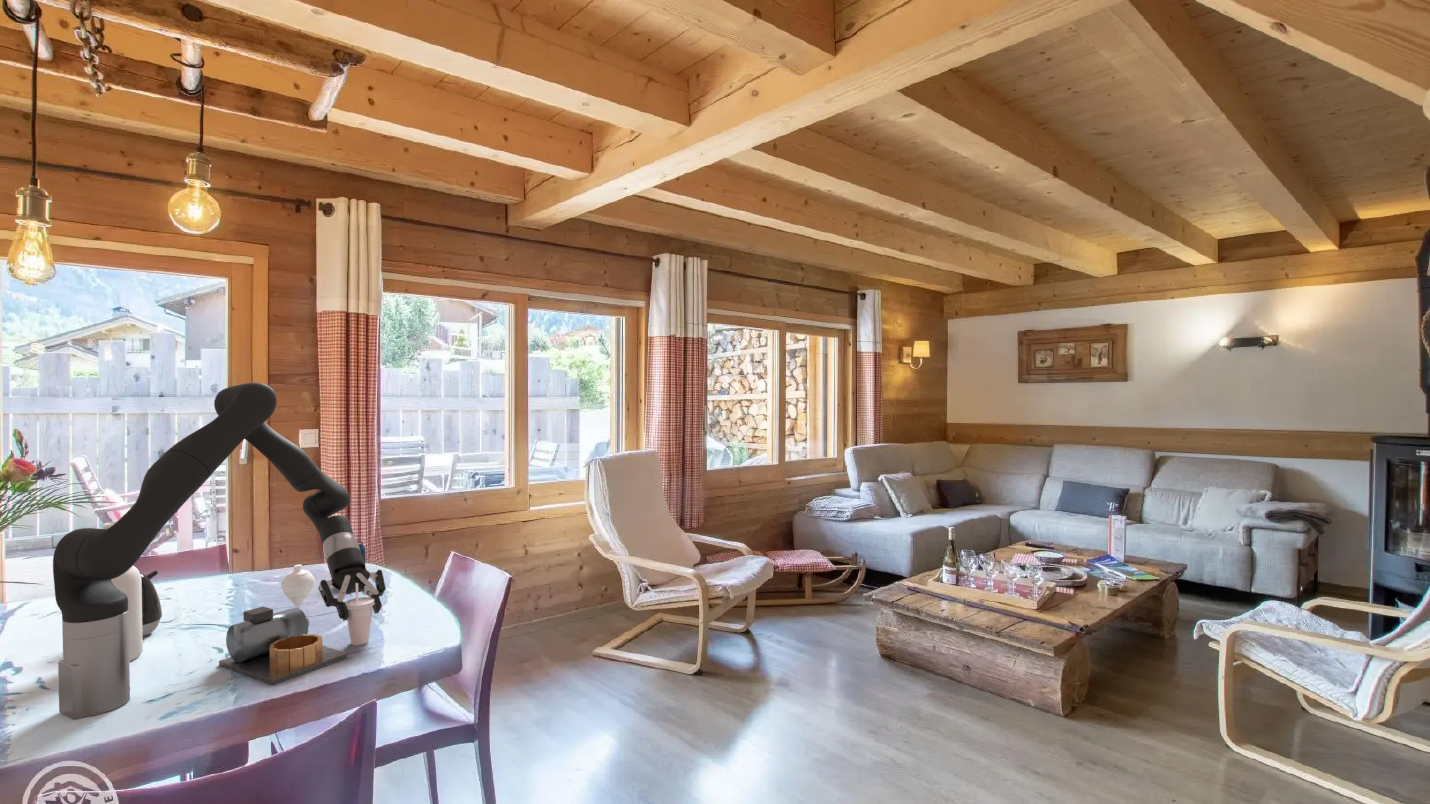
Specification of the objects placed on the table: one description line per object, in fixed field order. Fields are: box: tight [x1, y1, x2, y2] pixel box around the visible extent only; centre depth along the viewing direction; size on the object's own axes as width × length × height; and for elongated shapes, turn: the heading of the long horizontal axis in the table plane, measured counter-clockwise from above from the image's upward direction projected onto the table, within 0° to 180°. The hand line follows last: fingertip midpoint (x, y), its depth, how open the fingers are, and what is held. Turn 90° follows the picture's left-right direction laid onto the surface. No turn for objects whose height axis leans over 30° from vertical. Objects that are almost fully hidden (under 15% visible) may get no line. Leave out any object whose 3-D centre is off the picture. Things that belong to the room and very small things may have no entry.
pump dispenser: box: [140, 570, 163, 638], centre depth 166 cm, size 10×10×15 cm
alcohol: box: [101, 521, 144, 663], centre depth 152 cm, size 9×9×30 cm
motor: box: [218, 606, 349, 686], centre depth 151 cm, size 16×20×11 cm
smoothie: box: [344, 583, 374, 646], centre depth 162 cm, size 6×6×14 cm
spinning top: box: [280, 564, 316, 609], centre depth 186 cm, size 8×8×12 cm
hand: (362, 614), depth 161 cm, fingers closed on smoothie, 6 cm apart
